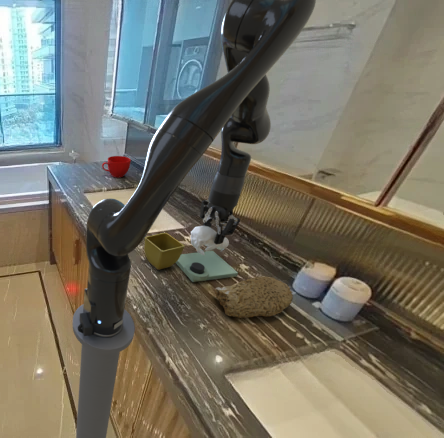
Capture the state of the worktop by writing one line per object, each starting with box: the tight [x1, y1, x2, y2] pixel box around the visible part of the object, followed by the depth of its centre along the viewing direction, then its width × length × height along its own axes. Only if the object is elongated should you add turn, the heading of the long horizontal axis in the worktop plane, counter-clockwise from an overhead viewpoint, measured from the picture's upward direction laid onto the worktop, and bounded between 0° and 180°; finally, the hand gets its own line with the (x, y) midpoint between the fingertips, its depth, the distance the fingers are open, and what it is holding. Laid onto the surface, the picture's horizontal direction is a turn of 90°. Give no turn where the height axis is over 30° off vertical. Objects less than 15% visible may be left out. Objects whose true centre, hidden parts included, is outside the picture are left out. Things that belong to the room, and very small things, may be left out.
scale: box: [175, 250, 239, 283], centre depth 90 cm, size 16×13×3 cm
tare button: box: [190, 262, 205, 274], centre depth 86 cm, size 4×4×2 cm
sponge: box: [214, 275, 294, 319], centre depth 76 cm, size 13×8×20 cm
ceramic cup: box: [101, 155, 132, 179], centre depth 164 cm, size 13×17×10 cm
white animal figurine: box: [190, 225, 230, 255], centre depth 89 cm, size 6×8×12 cm
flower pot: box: [144, 232, 186, 271], centre depth 91 cm, size 9×9×9 cm
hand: (211, 238), depth 89 cm, fingers closed on white animal figurine, 5 cm apart
